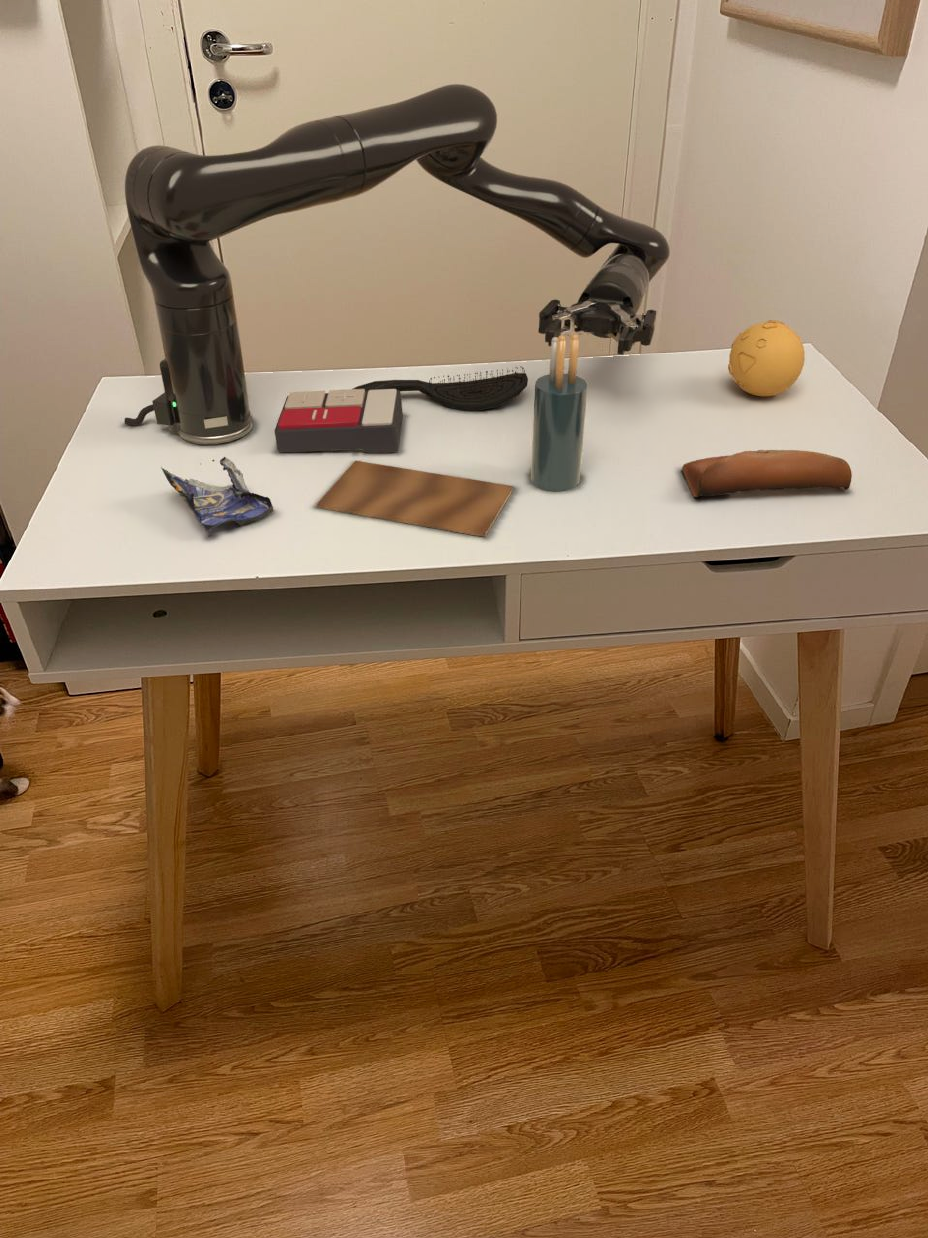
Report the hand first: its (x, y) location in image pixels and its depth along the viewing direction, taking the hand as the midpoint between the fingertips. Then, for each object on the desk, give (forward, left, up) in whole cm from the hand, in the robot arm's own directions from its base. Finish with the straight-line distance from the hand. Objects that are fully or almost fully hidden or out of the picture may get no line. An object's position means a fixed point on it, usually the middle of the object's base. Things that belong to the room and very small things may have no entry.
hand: (585, 342), depth 116 cm
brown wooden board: (-14, -22, -12) cm, 28 cm away
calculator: (-29, -9, -12) cm, 33 cm away
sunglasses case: (+23, -5, -12) cm, 27 cm away
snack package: (-34, -31, -12) cm, 48 cm away
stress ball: (+21, +21, -12) cm, 32 cm away
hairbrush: (-21, +5, -12) cm, 25 cm away
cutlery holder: (0, -12, -12) cm, 17 cm away
